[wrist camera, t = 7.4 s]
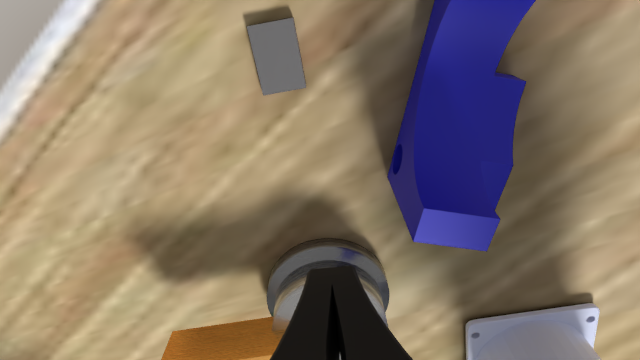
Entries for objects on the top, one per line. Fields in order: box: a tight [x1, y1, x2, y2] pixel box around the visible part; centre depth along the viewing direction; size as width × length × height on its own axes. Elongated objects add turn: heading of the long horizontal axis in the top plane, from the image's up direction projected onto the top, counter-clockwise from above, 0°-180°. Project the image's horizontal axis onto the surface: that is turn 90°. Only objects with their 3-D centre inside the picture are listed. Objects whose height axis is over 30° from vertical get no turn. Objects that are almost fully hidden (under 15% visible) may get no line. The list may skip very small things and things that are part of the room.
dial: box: [161, 260, 388, 360], centre depth 21 cm, size 12×6×4 cm, turn 100°
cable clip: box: [387, 0, 536, 251], centre depth 16 cm, size 12×4×6 cm, turn 170°
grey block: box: [247, 17, 306, 95], centre depth 18 cm, size 3×2×1 cm, turn 10°
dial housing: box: [267, 239, 389, 317], centre depth 23 cm, size 7×7×1 cm
